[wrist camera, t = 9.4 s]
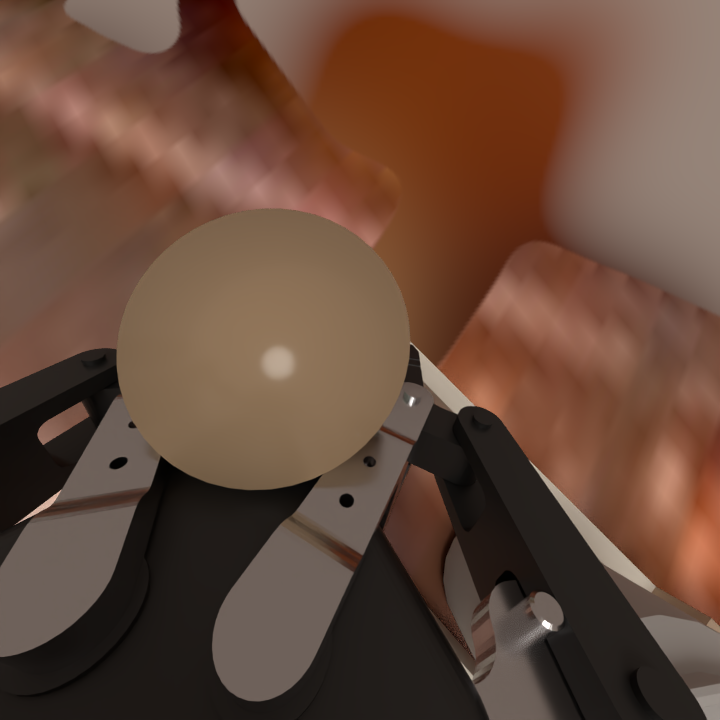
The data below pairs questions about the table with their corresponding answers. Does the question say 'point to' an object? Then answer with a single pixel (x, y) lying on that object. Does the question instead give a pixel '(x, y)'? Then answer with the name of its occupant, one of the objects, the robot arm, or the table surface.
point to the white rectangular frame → (598, 542)
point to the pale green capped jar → (263, 349)
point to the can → (664, 621)
